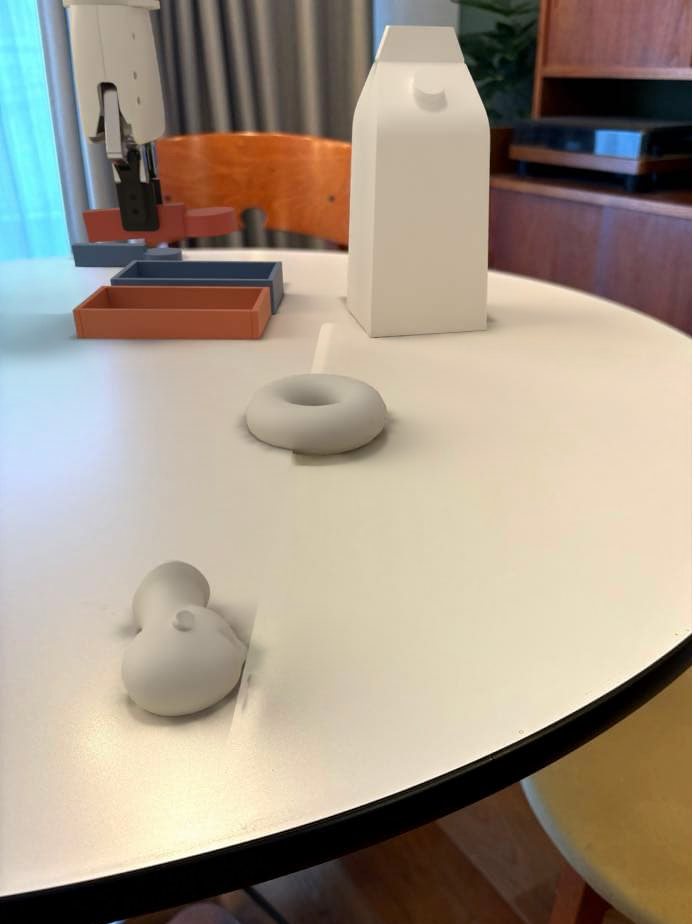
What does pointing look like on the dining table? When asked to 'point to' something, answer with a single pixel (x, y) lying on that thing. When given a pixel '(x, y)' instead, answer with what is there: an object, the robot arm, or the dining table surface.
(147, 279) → the tray blue
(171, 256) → the blue spoon
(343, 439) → the donut
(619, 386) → the dining table surface
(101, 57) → the robot arm
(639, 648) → the dining table surface
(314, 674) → the dining table surface
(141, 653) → the pale two-lobed sculpture
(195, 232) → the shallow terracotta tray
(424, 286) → the milk
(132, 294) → the tray red
